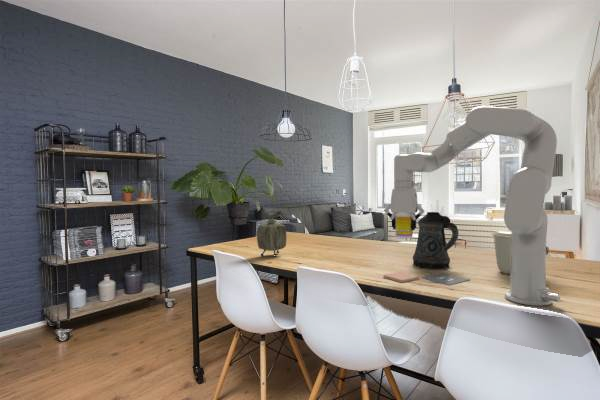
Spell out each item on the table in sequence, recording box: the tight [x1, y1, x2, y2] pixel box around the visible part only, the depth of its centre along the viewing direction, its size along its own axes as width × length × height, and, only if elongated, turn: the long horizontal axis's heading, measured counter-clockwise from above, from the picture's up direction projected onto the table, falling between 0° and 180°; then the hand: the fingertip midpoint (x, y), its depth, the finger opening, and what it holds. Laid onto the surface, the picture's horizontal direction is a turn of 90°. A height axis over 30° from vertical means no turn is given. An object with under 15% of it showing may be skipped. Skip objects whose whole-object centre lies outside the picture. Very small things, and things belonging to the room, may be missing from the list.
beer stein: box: [412, 211, 459, 270], centre depth 164 cm, size 16×19×25 cm
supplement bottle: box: [394, 212, 414, 239], centre depth 142 cm, size 7×7×13 cm
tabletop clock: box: [256, 210, 287, 257], centre depth 193 cm, size 14×9×25 cm, turn 130°
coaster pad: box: [382, 271, 421, 283], centre depth 143 cm, size 10×10×1 cm
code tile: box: [420, 272, 471, 286], centre depth 140 cm, size 13×13×1 cm
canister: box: [491, 228, 512, 275], centre depth 147 cm, size 18×18×21 cm
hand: (403, 229), depth 142 cm, fingers closed on supplement bottle, 6 cm apart
